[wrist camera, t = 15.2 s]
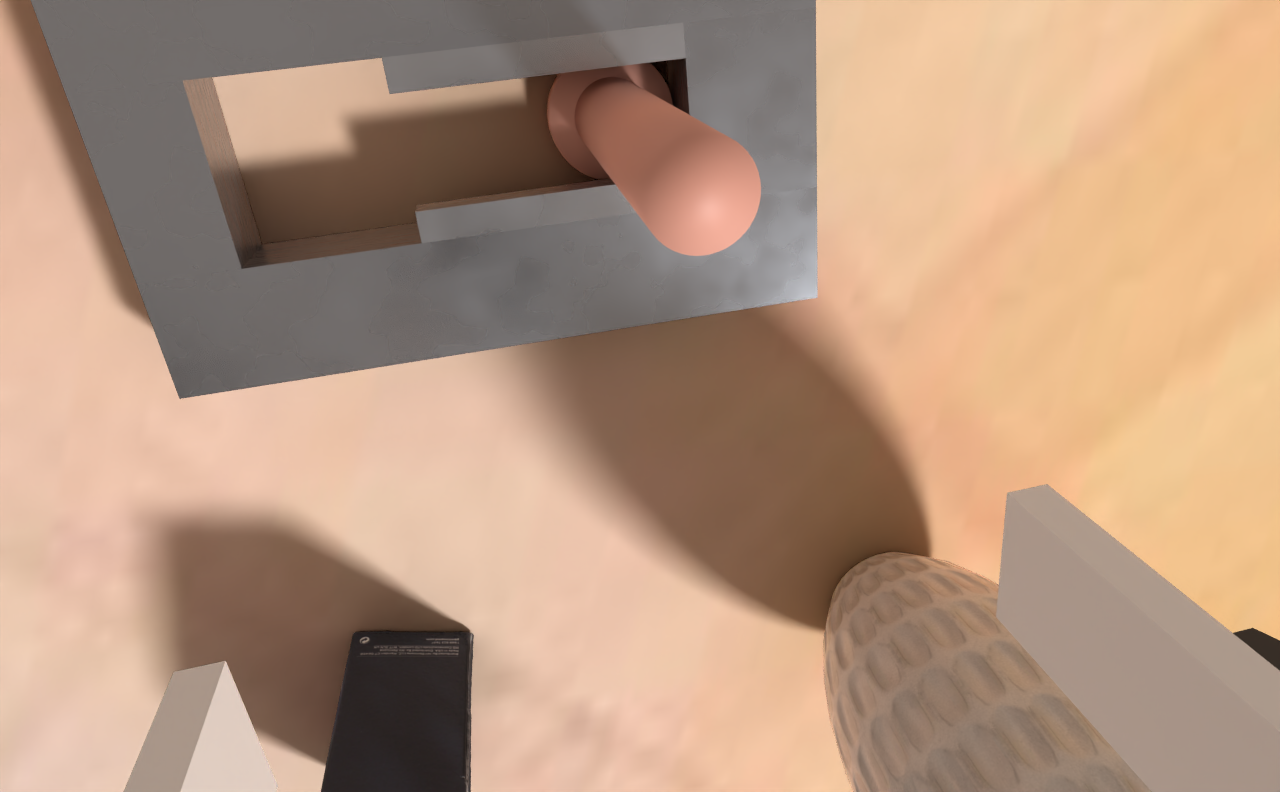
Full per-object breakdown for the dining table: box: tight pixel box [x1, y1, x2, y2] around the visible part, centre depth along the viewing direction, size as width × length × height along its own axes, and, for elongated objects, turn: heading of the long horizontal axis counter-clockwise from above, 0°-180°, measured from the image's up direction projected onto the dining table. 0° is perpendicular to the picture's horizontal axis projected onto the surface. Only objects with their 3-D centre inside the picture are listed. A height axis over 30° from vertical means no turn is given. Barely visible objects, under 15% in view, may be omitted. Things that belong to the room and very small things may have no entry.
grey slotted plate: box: [31, 0, 817, 399], centre depth 33 cm, size 26×16×4 cm, turn 96°
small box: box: [321, 631, 474, 792], centre depth 41 cm, size 11×6×10 cm, turn 171°
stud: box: [547, 63, 761, 256], centre depth 28 cm, size 5×5×16 cm
